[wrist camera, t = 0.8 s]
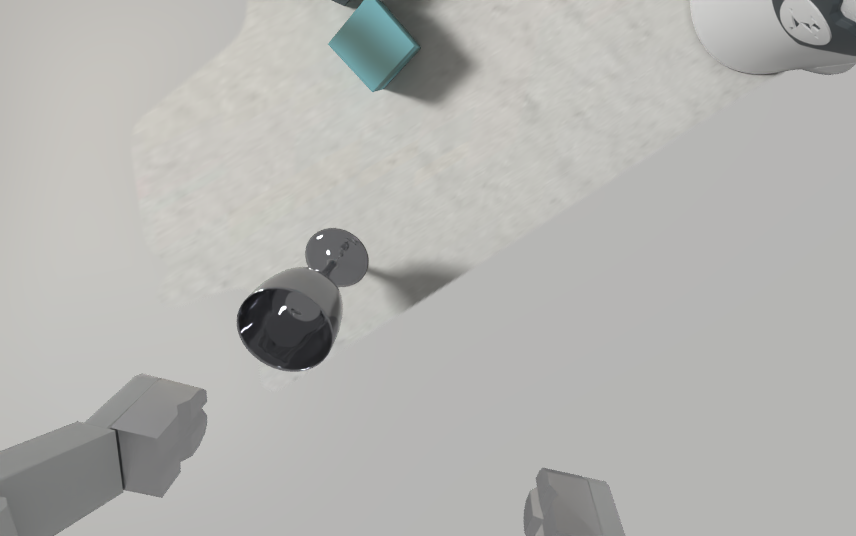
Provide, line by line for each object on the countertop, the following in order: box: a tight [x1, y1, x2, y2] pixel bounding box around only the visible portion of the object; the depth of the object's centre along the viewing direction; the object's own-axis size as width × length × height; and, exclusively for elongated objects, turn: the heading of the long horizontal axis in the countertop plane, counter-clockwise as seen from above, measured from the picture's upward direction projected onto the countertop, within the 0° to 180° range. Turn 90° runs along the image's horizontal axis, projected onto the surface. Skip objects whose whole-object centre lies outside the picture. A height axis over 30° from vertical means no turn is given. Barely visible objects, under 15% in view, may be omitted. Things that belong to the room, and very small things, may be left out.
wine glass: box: [237, 228, 368, 372], centre depth 43 cm, size 8×8×15 cm
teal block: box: [328, 0, 421, 92], centre depth 38 cm, size 5×5×5 cm
